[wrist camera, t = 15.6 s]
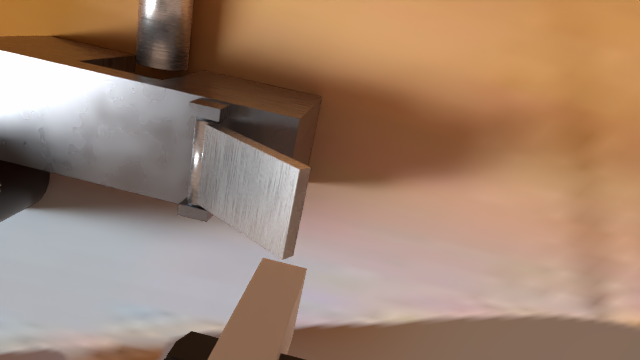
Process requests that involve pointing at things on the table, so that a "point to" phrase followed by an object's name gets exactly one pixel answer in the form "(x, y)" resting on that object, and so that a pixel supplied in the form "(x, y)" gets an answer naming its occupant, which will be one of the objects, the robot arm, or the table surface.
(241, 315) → the robot arm
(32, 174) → the water bottle
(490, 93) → the table surface
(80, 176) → the hitch beam
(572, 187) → the table surface
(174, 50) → the lynch pin
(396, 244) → the table surface
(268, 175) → the plate
